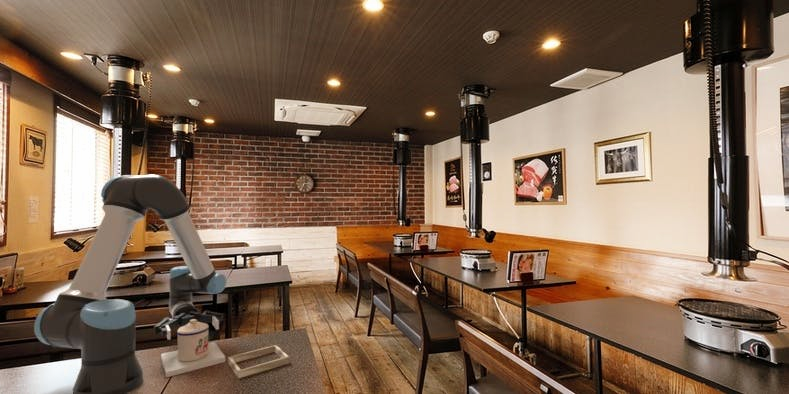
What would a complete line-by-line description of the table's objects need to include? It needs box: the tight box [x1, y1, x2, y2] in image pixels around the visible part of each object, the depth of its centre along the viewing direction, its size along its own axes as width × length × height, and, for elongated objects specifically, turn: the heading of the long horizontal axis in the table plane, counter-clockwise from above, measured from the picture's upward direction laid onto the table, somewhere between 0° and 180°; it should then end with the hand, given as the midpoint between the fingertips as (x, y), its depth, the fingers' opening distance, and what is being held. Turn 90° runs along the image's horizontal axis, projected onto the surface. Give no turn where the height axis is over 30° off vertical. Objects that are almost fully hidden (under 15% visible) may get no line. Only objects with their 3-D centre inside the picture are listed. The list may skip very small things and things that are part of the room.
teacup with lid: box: [176, 319, 210, 362], centre depth 116 cm, size 12×9×12 cm
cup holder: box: [227, 344, 290, 379], centre depth 113 cm, size 12×15×2 cm
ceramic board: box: [160, 341, 226, 378], centre depth 115 cm, size 16×16×2 cm
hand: (194, 330), depth 114 cm, fingers open, 13 cm apart
